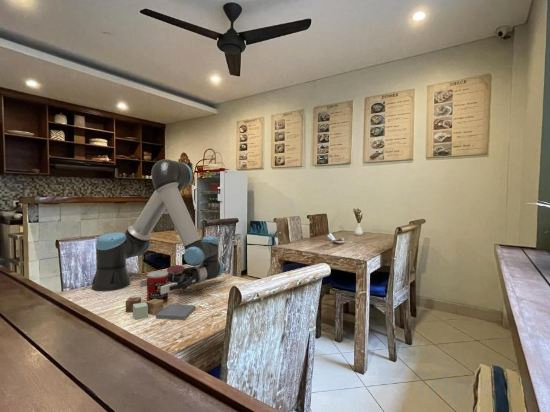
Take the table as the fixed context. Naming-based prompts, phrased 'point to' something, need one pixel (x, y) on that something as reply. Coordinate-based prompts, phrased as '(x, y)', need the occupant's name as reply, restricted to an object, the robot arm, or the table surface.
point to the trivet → (175, 312)
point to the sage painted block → (140, 310)
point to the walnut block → (132, 301)
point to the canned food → (157, 285)
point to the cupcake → (175, 268)
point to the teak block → (154, 306)
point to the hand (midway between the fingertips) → (150, 287)
